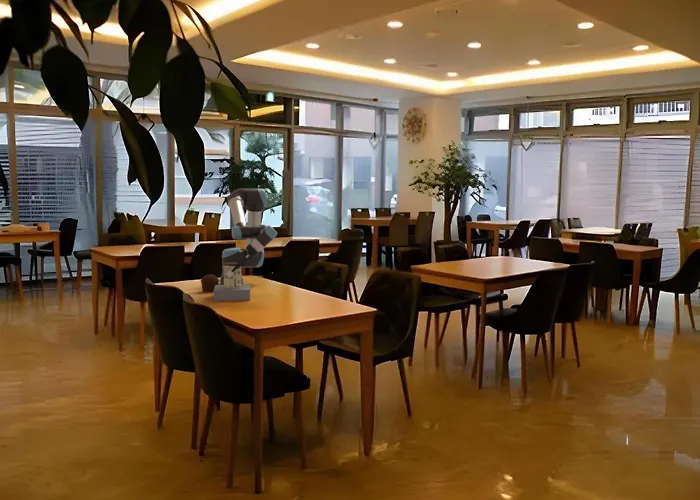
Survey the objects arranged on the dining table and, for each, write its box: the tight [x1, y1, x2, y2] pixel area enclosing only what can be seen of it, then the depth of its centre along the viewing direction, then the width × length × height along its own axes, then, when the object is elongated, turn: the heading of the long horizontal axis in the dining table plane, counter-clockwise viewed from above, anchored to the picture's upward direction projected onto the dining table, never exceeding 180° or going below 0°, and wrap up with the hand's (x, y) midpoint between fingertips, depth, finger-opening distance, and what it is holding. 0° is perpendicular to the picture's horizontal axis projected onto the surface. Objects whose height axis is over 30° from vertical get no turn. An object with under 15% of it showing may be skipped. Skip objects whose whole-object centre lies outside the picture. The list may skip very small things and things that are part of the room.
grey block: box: [213, 284, 251, 302], centre depth 381 cm, size 20×20×6 cm
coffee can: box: [223, 262, 243, 289], centre depth 381 cm, size 10×10×14 cm
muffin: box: [200, 274, 220, 293], centre depth 404 cm, size 12×11×10 cm
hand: (228, 274), depth 380 cm, fingers open, 13 cm apart
